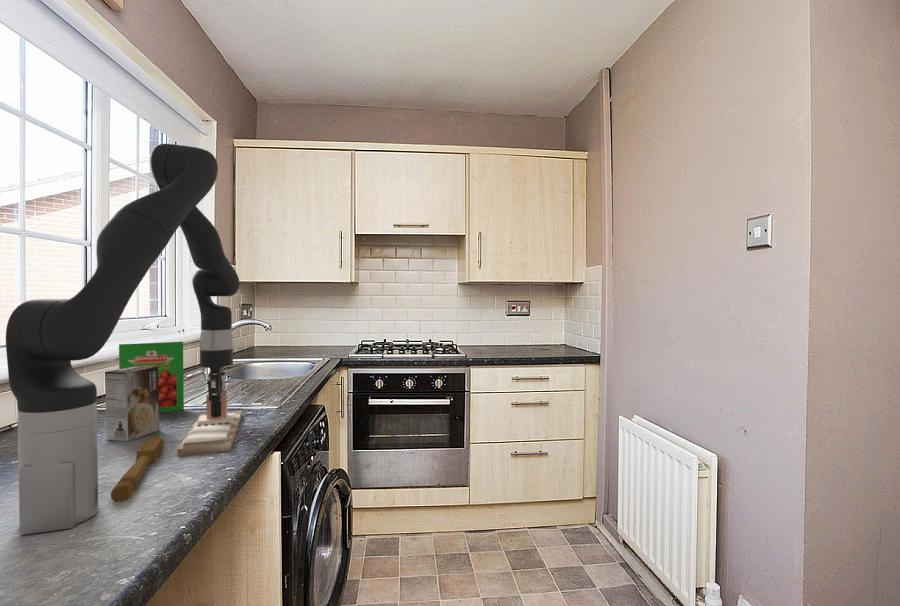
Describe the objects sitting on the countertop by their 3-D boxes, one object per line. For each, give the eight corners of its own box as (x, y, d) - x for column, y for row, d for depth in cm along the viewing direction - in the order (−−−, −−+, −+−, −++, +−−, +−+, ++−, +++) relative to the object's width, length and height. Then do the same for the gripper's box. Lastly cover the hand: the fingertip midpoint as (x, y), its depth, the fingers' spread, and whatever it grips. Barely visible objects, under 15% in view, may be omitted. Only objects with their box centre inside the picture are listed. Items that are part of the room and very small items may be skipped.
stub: (233, 422, 119) (232, 394, 119) (197, 425, 116) (197, 397, 116) (235, 416, 124) (235, 390, 124) (201, 419, 122) (201, 392, 121)
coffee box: (138, 428, 118) (137, 365, 118) (160, 430, 117) (159, 366, 117) (105, 440, 109) (104, 371, 109) (128, 441, 108) (127, 372, 108)
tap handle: (109, 486, 77) (149, 434, 105) (109, 505, 77) (149, 448, 105) (131, 483, 78) (165, 432, 106) (131, 502, 78) (165, 446, 106)
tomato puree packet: (119, 417, 129) (118, 344, 129) (120, 416, 130) (119, 344, 130) (183, 410, 137) (183, 341, 137) (183, 409, 138) (183, 341, 138)
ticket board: (230, 450, 102) (229, 438, 102) (177, 456, 99) (177, 443, 99) (241, 416, 130) (241, 406, 130) (201, 419, 127) (200, 409, 127)
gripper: (229, 350, 114) (230, 420, 115) (235, 344, 128) (235, 407, 128) (195, 351, 112) (195, 423, 112) (204, 345, 125) (204, 409, 126)
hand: (217, 414), depth 120 cm, fingers closed on stub, 3 cm apart
